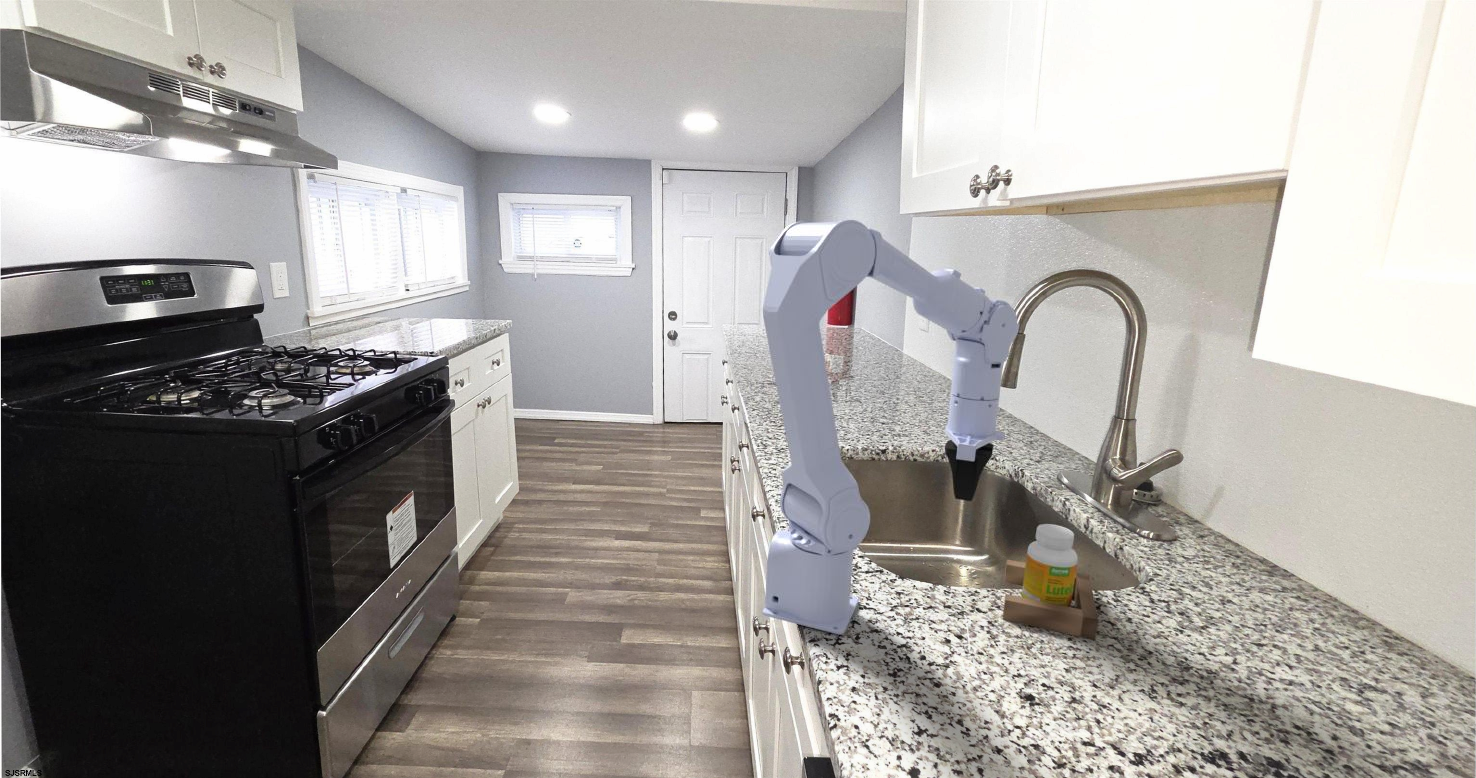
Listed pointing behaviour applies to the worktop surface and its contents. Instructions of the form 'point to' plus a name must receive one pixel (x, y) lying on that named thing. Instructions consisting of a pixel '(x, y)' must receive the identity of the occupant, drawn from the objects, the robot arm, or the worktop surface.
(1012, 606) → the wooden u-shaped bracket
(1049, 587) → the supplement bottle
